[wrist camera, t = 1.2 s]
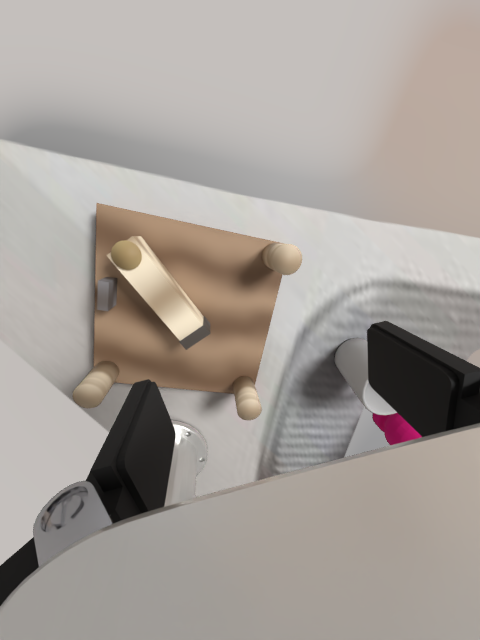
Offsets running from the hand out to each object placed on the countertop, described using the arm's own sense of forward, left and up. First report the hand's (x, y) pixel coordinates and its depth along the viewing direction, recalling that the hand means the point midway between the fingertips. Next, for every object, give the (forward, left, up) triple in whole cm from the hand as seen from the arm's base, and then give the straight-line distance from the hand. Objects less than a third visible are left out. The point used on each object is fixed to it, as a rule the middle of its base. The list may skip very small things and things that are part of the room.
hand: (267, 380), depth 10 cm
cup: (-17, -14, -21) cm, 31 cm away
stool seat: (-1, +6, -21) cm, 22 cm away
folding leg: (+2, +7, -18) cm, 20 cm away
